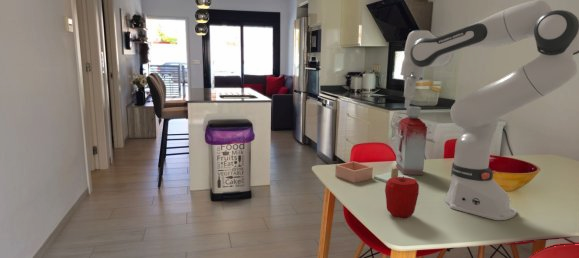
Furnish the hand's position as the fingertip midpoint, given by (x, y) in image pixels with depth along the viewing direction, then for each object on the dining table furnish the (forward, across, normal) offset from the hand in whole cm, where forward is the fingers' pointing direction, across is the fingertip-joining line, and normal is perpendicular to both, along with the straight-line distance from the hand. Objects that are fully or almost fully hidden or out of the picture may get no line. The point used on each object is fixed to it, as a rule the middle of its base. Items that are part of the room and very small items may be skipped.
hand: (406, 106), depth 153 cm
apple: (+30, -38, -3) cm, 49 cm away
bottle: (+32, +15, -6) cm, 36 cm away
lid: (+32, -2, 0) cm, 32 cm away
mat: (+32, -2, 0) cm, 32 cm away
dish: (+34, -4, +16) cm, 38 cm away
